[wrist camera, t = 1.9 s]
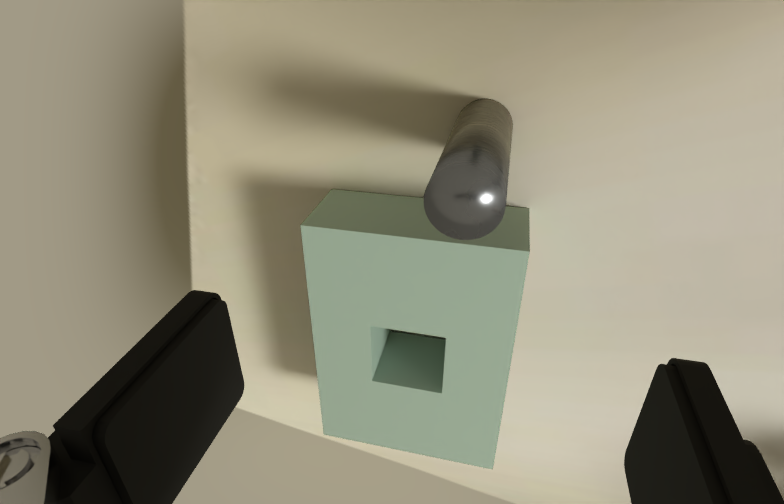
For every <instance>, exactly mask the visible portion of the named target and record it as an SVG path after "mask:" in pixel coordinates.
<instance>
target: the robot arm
mask: <svg viewBox="0 0 784 504" xmlns="http://www.w3.org/2000/svg"><path fill="white" fill-rule="evenodd" d="M243 391H244V380H243V375H242V371H241V366H240V362H239V357H238V353H237V348H236V344H235V339H234V335H233V330H232V326H231V321H230V317H229V313H228V308H227V304H226V302H225V301H223V300H221V297H220V296H219V295H218V294H216V293H211V292H204V291H197V290H193V291H191V292H189V293H188V294H187V295H186V296H185V297H184V298H183V299H182V300H181V301H180V302H179V303H178V304H177V305H176V306H174V308H172V309H171V310H170V311H169V312H168V314H166V315H165V317H163V318H162V319H161V320H160V321H159V322H158V323H157V324H156V325H155V326H154V327H153V328H152V329H151V330H150V331H149V332H148V333H147V334H146V335H145V336H144V337H143V338H142V339H141V340H140V341H139V342H138V343H137V344H136V345H135V346H134V347H133V348H132V349H131V350H130V351H128V353H126V355H125V356H123V357H122V358H121V359H120V360H119V361H118V362H117V363H116V364H115V365H114V366H113V367H112V368H111V369H110V370H109V371H108V372H107V373H106V374H105V375H104V376H103V377H102V378H101V379H100V380H99V381H98V382H97V383H96V384H95V385H94V386H93V387H92V388H91V389H90V390H89V391H88V392H87V393H86V394H85V395H84V396H82V397H81V398H80V400H78V401H77V402H76V403H75V404H74V405H73V406H72V407H71V408H70V409H69V410H68V411H67V412H66V413H65V414H64V415H63V416H62V417H61V418H60V419H59V420H58V421H57V422H56V423H55V424H54V425H53V427H54V428H55V431H54V432H53V433H52V434H51V435H50V436H49V437H48V438H47V437H46V436H45V435H44V434H42V433H39V432H36V431H22V432H18V433H13V434H9V435H7V436H5V437H2V438H0V504H172V503H173V501H174V500H175V498H176V497H177V495H178V494H179V492H180V491H181V489H182V487H183V486H184V485H185V483H186V481H187V480H188V478H189V477H190V475H191V474H192V472H193V471H194V469H195V468H196V466H197V465H198V463H199V462H200V460H201V458H202V457H203V455H204V454H205V452H206V451H207V449H208V448H209V446H210V445H211V443H212V441H213V440H214V439H215V437H216V435H217V434H218V432H219V431H220V429H221V428H222V426H223V425H224V423H225V422H226V420H227V419H228V417H229V416H230V414H231V412H232V411H233V409H234V408H235V406H236V405H237V403H238V402H239V400H240V398H241V397H242V394H243ZM624 466H625V473H626V478H627V483H628V488H629V493H630V498H631V503H632V504H784V500H783V498H782V496H781V494H780V492H779V490H778V488H777V486H776V484H775V482H774V480H773V478H772V476H771V474H770V472H769V469H768V467H767V465H766V463H765V461H764V459H763V457H762V455H761V453H760V452H759V450H758V449H757V447H756V446H755V445H754V444H753V443H752V442H750V441H748V440H743V438H742V436H741V434H740V432H739V430H738V427H737V425H736V423H735V421H734V419H733V417H732V415H731V412H730V410H729V408H728V406H727V404H726V402H725V400H724V398H723V395H722V393H721V391H720V389H719V387H718V385H717V383H716V380H715V378H714V376H713V374H712V372H711V370H710V368H709V366H708V365H707V364H706V363H704V362H697V361H690V360H683V359H676V358H672V359H670V360H669V362H668V364H667V365H665V364H660V365H658V367H657V369H656V372H655V374H654V377H653V380H652V382H651V385H650V388H649V390H648V393H647V396H646V398H645V401H644V404H643V407H642V409H641V412H640V415H639V417H638V420H637V423H636V425H635V428H634V431H633V433H632V436H631V439H630V441H629V444H628V447H627V449H626V453H625V460H624Z"/></svg>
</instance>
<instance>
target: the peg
mask: <svg viewBox="0 0 784 504" xmlns="http://www.w3.org/2000/svg"><path fill="white" fill-rule="evenodd" d="M512 129H513V123H512V118H511V115H510V113H509V111H508V110H507V109H506V108H505V107H504V106H503V105H502V104H501V103H499V102H497V101H495V100H491V99H480V100H476V101H474V102H471V103H470V104H468V105H467V106H466V107H465V108H464V109H463V110H462V111H461V113H460V115H459V117H458V119H457V121H456V123H455V126H454V128H453V130H452V132H451V134H450V137H449V139H448V141H447V143H446V146H445V148H444V150H443V152H442V154H441V157H440V159H439V161H438V163H437V166H436V168H435V170H434V172H433V174H432V177H431V179H430V181H429V183H428V186H427V188H426V190H425V194H424V209H425V213H426V215H427V217H428V219H429V221H430V222H431V224H432V225H433V226H434V227H435V228H436V229H437V230H438V231H440V232H441V233H443V234H444V235H446V236H448V237H451V238H454V239H459V240H473V239H478V238H481V237H483V236H486V235H487V234H489V233H491V232H492V231H493V230H494V229H495V228H496V227H497V226H498V225H499V224H500V222H501V220H502V218H503V216H504V213H505V208H506V197H507V186H508V175H509V163H510V152H511V141H512Z"/></svg>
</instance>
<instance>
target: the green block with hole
mask: <svg viewBox="0 0 784 504" xmlns="http://www.w3.org/2000/svg"><path fill="white" fill-rule="evenodd" d="M300 226H301V235H302V244H303V253H304V262H305V271H306V280H307V289H308V298H309V307H310V315H311V324H312V333H313V342H314V351H315V360H316V369H317V378H318V387H319V396H320V405H321V414H322V423H323V432H324V435H329V436H334V437H338V438H343V439H348V440H353V441H358V442H363V443H367V444H372V445H377V446H382V447H387V448H392V449H396V450H401V451H406V452H411V453H416V454H420V455H425V456H430V457H435V458H440V459H445V460H449V461H454V462H459V463H464V464H469V465H474V466H478V467H483V468H488V469H493V465H494V459H495V453H496V447H497V441H498V435H499V429H500V423H501V418H502V412H503V406H504V400H505V394H506V388H507V382H508V376H509V370H510V364H511V358H512V353H513V347H514V341H515V335H516V329H517V323H518V317H519V311H520V305H521V299H522V293H523V288H524V282H525V276H526V270H527V264H528V258H529V252H530V243H529V208H520V207H510V206H506V208H505V213H504V216H503V218H502V220H501V222H500V224H499V225H498V226H497V227H496V228H495V229H494V230H493V231H492V232H491V233H489V234H487V235H486V236H483V237H481V238H478V239H473V240H459V239H454V238H451V237H448V236H446V235H444V234H443V233H441V232H440V231H438V230H437V229H436V228H435V227H434V226H433V225H432V224H431V222H430V221H429V219H428V217H427V215H426V213H425V209H424V198H418V197H408V196H398V195H388V194H377V193H367V192H357V191H347V190H336V189H331V191H330V192H329V193H328V194H327V195H326V196H325V197H324V199H323V200H322V201H321V202H320V203H319V204H318V206H317V207H316V208H315V209H314V210H313V211H312V212H311V214H310V215H309V216H308V217H307V218H306V219H305V221H304V222H303V223H302V224H301V225H300ZM391 329H393V330H399V331H406V332H412V333H419V334H425V335H431V336H438V337H444V338H446V340H444V339H438V338H431V337H425V336H419V335H412V334H406V333H400V332H393V331H391Z"/></svg>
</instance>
